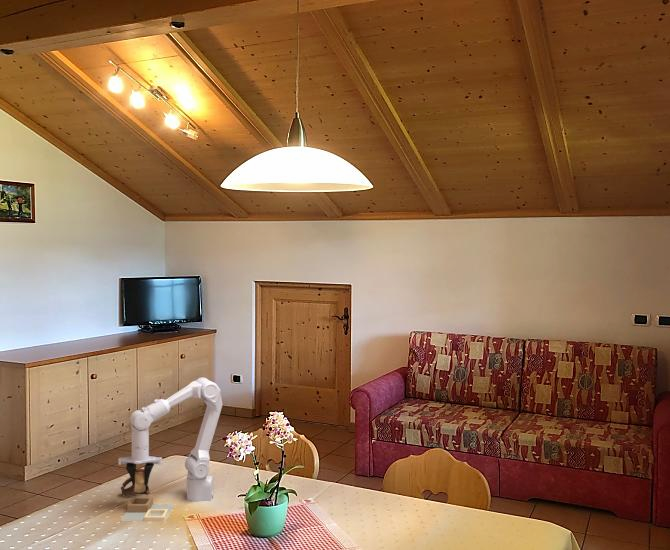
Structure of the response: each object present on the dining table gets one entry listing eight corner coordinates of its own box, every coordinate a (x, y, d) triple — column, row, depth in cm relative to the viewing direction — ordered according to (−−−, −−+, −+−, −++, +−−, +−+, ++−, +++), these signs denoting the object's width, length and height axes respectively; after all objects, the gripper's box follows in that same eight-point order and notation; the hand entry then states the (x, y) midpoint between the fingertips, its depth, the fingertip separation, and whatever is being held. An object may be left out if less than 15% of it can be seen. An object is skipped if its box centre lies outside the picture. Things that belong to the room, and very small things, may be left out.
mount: (174, 507, 237) (174, 497, 237) (166, 524, 223) (166, 513, 223) (131, 507, 237) (131, 497, 236) (120, 524, 223) (120, 513, 223)
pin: (146, 488, 235) (146, 468, 234) (144, 492, 231) (144, 472, 231) (135, 488, 234) (135, 469, 234) (133, 492, 231) (133, 472, 230)
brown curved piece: (150, 501, 244) (139, 484, 241) (127, 512, 244) (115, 495, 241) (154, 481, 255) (143, 464, 252) (132, 491, 255) (121, 475, 252)
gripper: (115, 449, 228) (115, 488, 229) (158, 449, 228) (158, 488, 229) (121, 443, 235) (121, 481, 236) (163, 443, 235) (163, 481, 236)
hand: (140, 484), depth 233 cm, fingers closed on pin, 4 cm apart
